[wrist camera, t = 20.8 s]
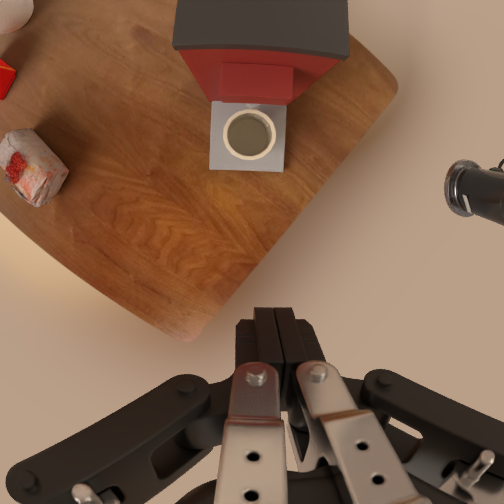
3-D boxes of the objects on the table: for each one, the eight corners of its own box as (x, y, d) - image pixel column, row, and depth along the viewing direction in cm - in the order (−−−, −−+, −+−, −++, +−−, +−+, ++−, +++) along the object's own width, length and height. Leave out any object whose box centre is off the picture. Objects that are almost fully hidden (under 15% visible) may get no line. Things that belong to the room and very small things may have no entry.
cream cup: (262, 111, 42) (266, 103, 34) (275, 151, 44) (282, 151, 36) (220, 124, 42) (216, 118, 35) (233, 164, 44) (232, 166, 37)
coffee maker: (285, 171, 46) (343, 198, 21) (206, 168, 46) (164, 191, 20) (290, 72, 41) (347, -7, 16) (210, 68, 41) (180, -18, 15)
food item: (77, 169, 44) (46, 175, 35) (54, 204, 46) (23, 217, 37) (35, 124, 41) (1, 123, 32) (14, 158, 43) (-19, 164, 33)
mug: (-1, 9, 30) (-35, -4, 18) (35, -23, 29) (4, -44, 17) (7, 49, 35) (-33, 38, 22) (46, 14, 34) (9, -7, 21)
